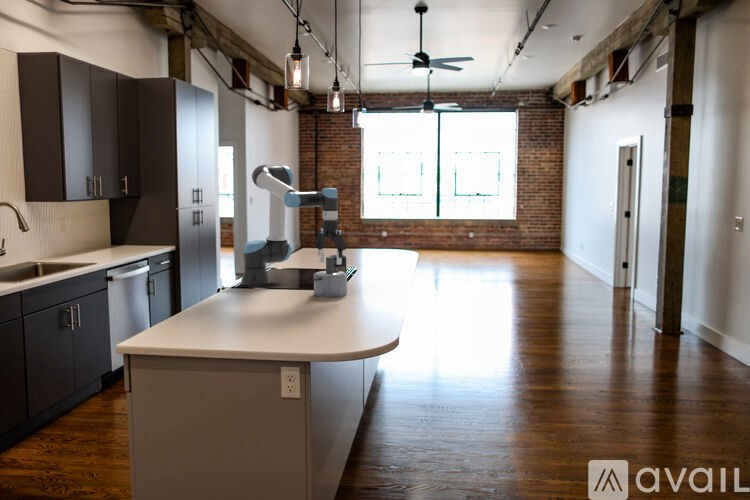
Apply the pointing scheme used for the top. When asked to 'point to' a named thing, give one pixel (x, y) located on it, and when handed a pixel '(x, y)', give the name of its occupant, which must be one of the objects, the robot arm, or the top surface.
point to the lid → (330, 269)
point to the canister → (341, 266)
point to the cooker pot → (330, 286)
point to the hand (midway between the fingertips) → (330, 263)
